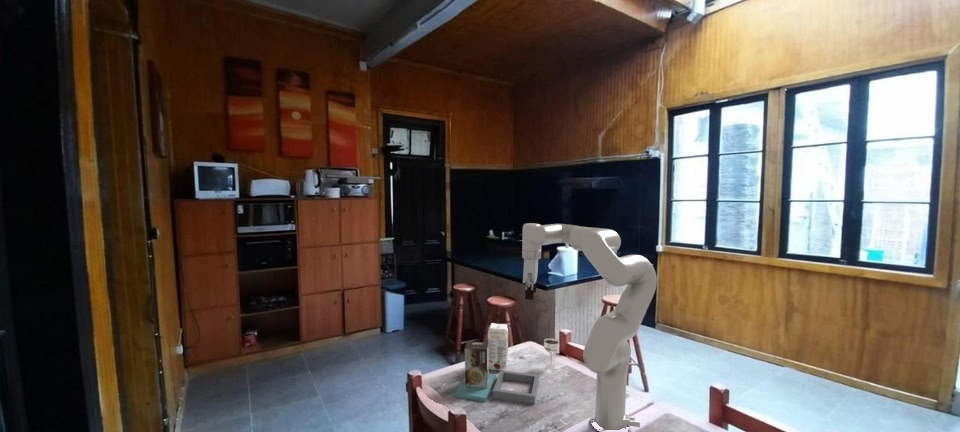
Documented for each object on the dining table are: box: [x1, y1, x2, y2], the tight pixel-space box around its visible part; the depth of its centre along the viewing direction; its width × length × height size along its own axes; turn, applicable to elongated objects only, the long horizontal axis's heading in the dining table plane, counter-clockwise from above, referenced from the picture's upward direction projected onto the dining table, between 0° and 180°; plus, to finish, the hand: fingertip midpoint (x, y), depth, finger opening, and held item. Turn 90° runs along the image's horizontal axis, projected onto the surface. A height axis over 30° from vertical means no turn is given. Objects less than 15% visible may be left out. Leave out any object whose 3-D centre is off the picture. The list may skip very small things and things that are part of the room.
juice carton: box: [487, 322, 509, 372], centre depth 169 cm, size 8×9×19 cm
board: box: [454, 372, 497, 402], centre depth 154 cm, size 12×18×2 cm, turn 166°
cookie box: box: [464, 341, 490, 388], centre depth 153 cm, size 9×6×16 cm
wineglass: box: [543, 337, 560, 370], centre depth 170 cm, size 7×7×12 cm
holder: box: [492, 370, 540, 405], centre depth 152 cm, size 16×16×3 cm
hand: (530, 295), depth 155 cm, fingers open, 9 cm apart
